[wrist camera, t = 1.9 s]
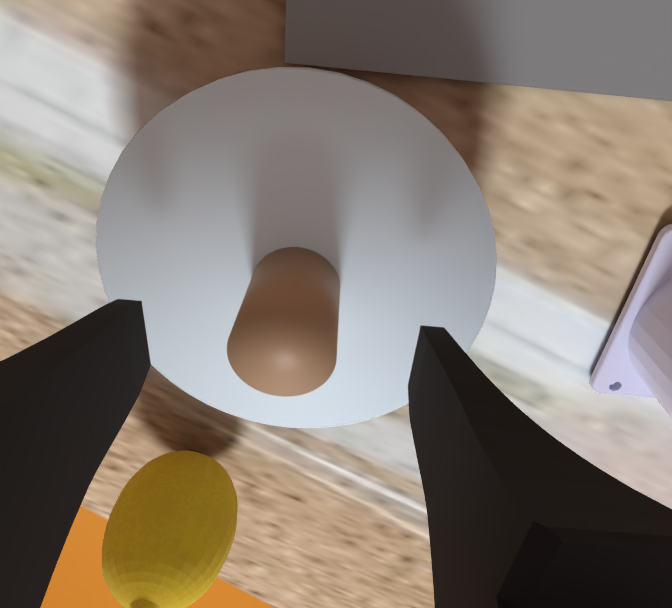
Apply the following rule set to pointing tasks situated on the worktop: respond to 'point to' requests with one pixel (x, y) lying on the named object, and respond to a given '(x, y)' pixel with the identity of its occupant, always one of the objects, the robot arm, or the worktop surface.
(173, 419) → the worktop surface
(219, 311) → the lid
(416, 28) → the mat
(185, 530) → the lemon
